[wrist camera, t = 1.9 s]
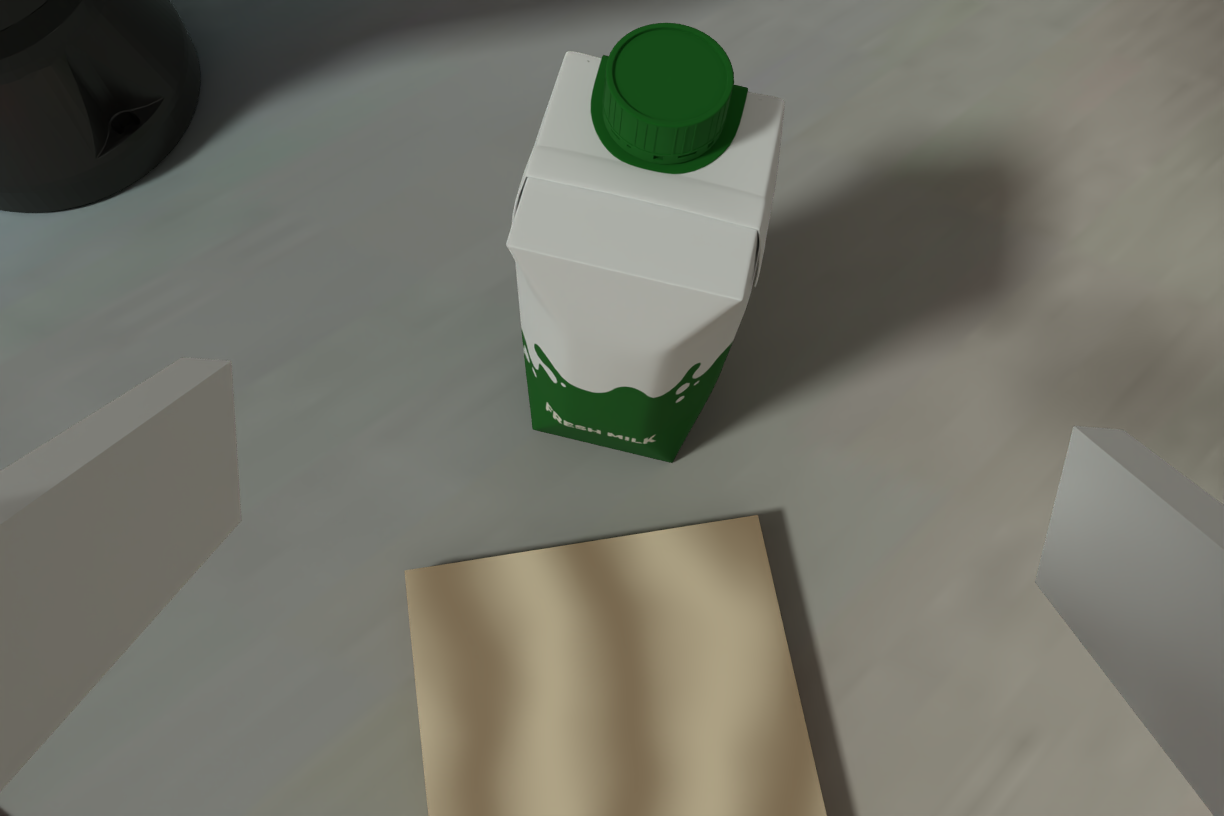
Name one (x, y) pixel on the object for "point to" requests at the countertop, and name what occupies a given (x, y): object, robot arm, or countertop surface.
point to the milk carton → (640, 237)
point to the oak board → (611, 681)
